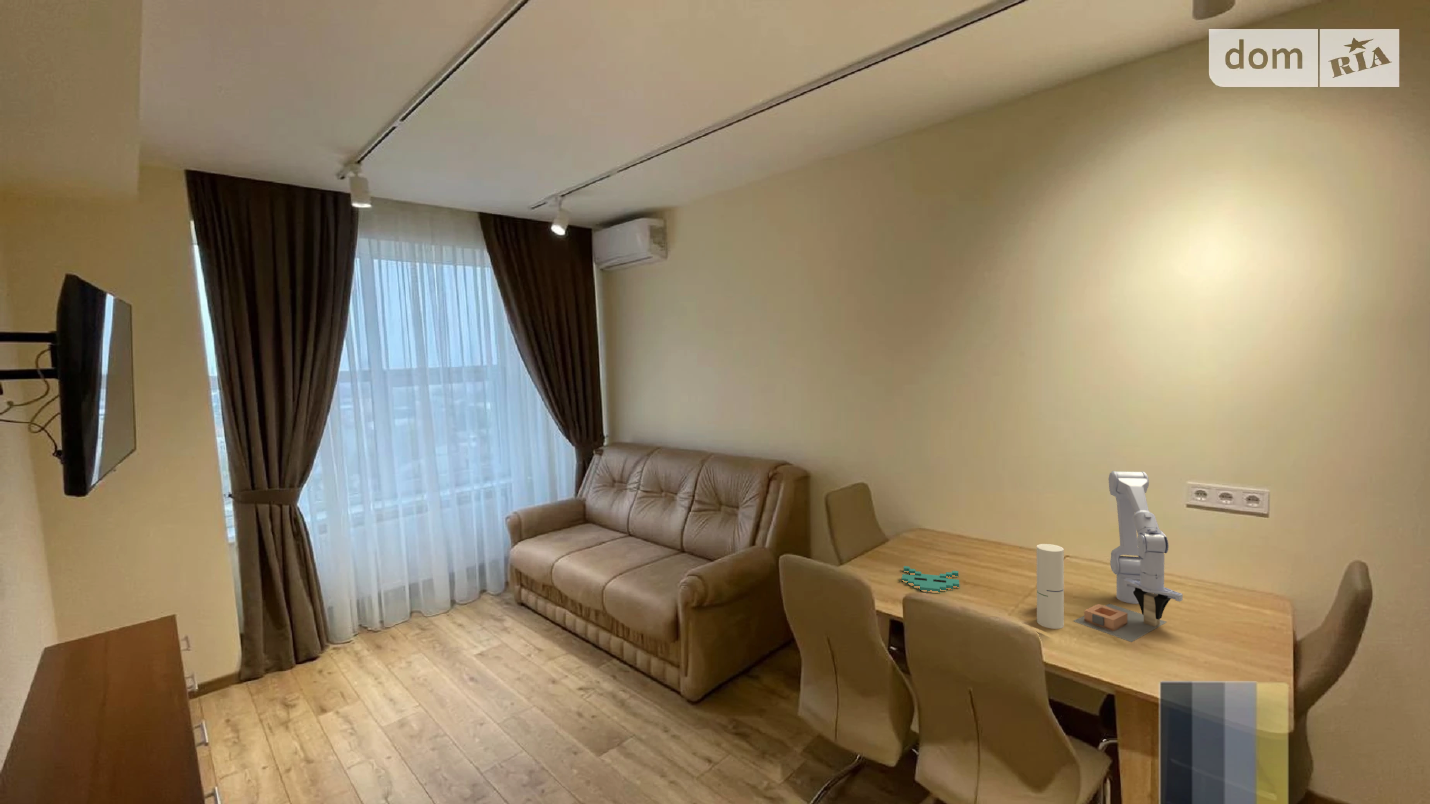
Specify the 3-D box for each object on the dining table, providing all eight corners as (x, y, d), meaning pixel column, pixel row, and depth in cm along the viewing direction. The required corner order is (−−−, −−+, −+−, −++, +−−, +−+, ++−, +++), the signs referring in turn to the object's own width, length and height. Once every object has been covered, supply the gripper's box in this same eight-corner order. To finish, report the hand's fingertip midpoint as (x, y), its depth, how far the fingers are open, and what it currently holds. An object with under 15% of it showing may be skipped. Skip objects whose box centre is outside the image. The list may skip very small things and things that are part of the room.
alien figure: (904, 571, 224) (900, 590, 205) (903, 566, 224) (900, 584, 205) (958, 576, 216) (959, 597, 198) (958, 571, 216) (959, 591, 198)
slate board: (1109, 606, 185) (1109, 603, 185) (1167, 625, 171) (1167, 621, 171) (1072, 624, 174) (1072, 621, 174) (1131, 645, 160) (1131, 642, 160)
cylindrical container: (1063, 633, 168) (1063, 552, 167) (1036, 628, 172) (1036, 549, 170) (1063, 624, 174) (1063, 545, 173) (1037, 619, 178) (1037, 542, 176)
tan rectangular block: (1148, 620, 172) (1148, 592, 172) (1159, 624, 170) (1160, 595, 169) (1143, 623, 171) (1143, 594, 170) (1155, 626, 168) (1155, 597, 167)
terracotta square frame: (1099, 613, 178) (1099, 603, 178) (1128, 623, 171) (1128, 612, 171) (1083, 621, 173) (1083, 610, 173) (1112, 631, 166) (1112, 620, 166)
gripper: (1118, 568, 173) (1118, 610, 174) (1175, 583, 161) (1174, 628, 162) (1129, 563, 177) (1129, 605, 178) (1186, 577, 164) (1185, 622, 165)
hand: (1151, 616), depth 170 cm, fingers closed on tan rectangular block, 3 cm apart
